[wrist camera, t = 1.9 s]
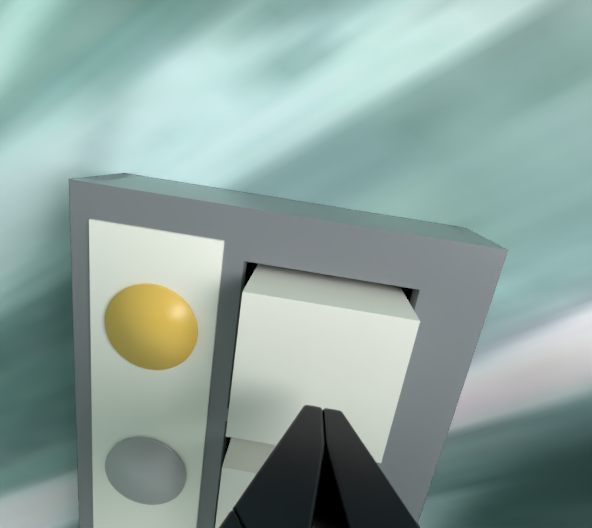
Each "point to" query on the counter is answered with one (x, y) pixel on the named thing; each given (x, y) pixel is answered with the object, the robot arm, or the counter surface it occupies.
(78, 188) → the board
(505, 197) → the counter surface
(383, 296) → the button
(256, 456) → the button
